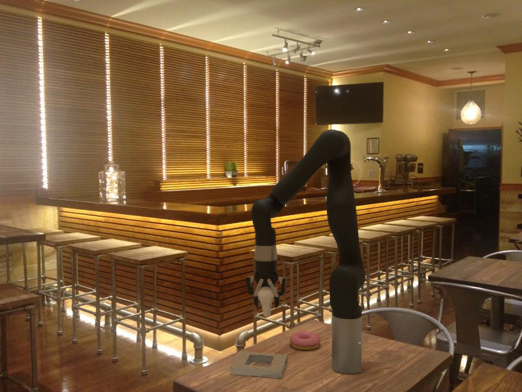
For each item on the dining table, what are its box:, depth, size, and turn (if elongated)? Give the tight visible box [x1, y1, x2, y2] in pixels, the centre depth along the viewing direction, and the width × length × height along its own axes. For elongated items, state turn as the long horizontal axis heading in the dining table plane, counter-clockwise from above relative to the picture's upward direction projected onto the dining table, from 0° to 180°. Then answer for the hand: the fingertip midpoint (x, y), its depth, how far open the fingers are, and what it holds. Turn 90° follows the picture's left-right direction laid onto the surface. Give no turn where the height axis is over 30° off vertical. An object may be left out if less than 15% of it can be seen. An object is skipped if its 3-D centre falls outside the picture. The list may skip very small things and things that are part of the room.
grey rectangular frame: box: [229, 350, 288, 380], centre depth 151 cm, size 16×12×2 cm
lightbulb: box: [257, 287, 275, 318], centre depth 161 cm, size 6×6×11 cm
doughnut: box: [289, 330, 321, 351], centre depth 169 cm, size 11×11×4 cm
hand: (266, 306), depth 161 cm, fingers closed on lightbulb, 6 cm apart
